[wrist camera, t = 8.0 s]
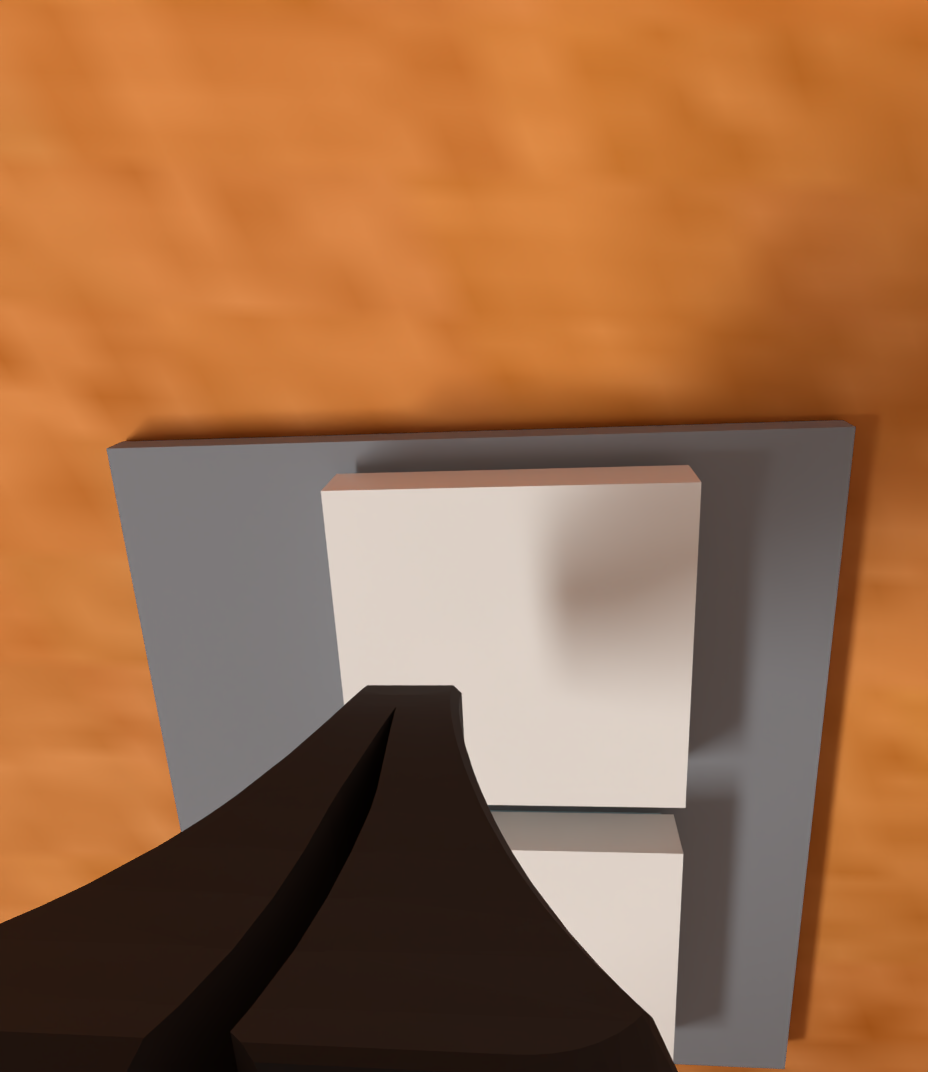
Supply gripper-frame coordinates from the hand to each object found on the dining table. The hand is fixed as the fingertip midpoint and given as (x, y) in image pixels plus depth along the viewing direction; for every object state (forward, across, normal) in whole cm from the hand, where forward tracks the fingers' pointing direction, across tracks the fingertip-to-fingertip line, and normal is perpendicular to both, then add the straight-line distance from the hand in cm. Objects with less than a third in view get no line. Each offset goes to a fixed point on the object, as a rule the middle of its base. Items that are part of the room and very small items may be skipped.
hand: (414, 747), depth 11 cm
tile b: (+3, +2, 0) cm, 4 cm away
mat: (+5, 0, +4) cm, 6 cm away
